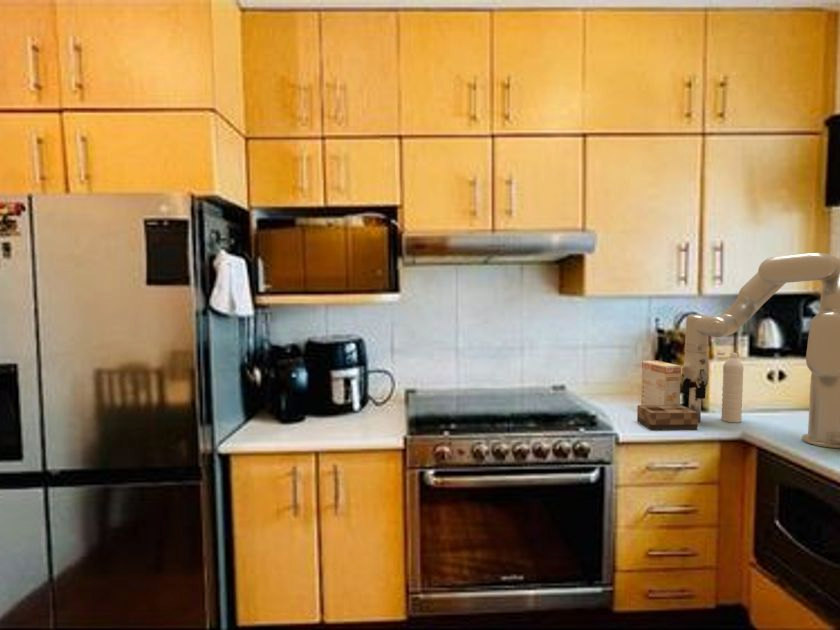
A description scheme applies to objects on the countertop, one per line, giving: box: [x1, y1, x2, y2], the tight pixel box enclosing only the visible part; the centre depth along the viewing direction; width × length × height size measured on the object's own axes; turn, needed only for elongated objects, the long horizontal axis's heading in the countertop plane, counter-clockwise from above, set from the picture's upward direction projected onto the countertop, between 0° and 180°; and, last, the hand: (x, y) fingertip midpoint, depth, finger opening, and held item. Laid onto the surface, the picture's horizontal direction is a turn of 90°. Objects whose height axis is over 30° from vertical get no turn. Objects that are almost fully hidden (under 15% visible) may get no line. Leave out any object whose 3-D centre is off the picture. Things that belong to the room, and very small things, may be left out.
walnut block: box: [636, 404, 699, 431], centre depth 203 cm, size 12×16×6 cm
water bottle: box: [716, 351, 744, 423], centre depth 210 cm, size 9×6×25 cm
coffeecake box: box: [640, 360, 682, 405], centre depth 222 cm, size 15×7×20 cm, turn 12°
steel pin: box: [688, 387, 702, 424], centre depth 209 cm, size 4×4×12 cm
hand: (693, 395), depth 209 cm, fingers open, 9 cm apart
